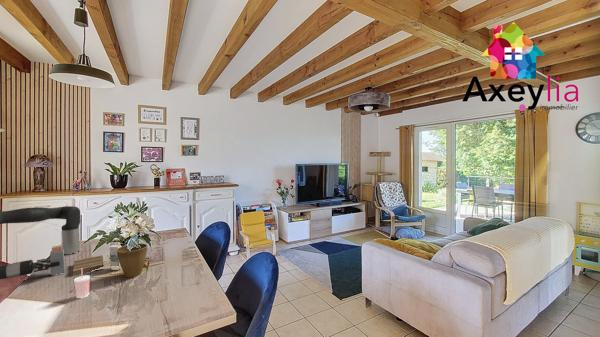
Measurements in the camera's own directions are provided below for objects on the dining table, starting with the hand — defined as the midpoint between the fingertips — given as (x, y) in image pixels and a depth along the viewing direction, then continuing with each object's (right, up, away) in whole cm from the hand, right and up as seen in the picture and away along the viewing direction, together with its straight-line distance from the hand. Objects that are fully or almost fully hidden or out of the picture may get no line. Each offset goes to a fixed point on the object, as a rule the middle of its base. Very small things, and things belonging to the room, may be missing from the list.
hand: (60, 261), depth 152 cm
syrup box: (+30, -7, +6) cm, 31 cm away
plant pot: (+44, -7, -3) cm, 45 cm away
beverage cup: (+35, -8, -26) cm, 44 cm away
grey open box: (-1, -7, 0) cm, 7 cm away
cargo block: (-1, +5, -1) cm, 5 cm away
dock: (+10, -7, +8) cm, 15 cm away
